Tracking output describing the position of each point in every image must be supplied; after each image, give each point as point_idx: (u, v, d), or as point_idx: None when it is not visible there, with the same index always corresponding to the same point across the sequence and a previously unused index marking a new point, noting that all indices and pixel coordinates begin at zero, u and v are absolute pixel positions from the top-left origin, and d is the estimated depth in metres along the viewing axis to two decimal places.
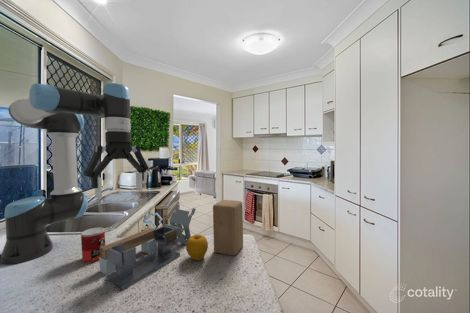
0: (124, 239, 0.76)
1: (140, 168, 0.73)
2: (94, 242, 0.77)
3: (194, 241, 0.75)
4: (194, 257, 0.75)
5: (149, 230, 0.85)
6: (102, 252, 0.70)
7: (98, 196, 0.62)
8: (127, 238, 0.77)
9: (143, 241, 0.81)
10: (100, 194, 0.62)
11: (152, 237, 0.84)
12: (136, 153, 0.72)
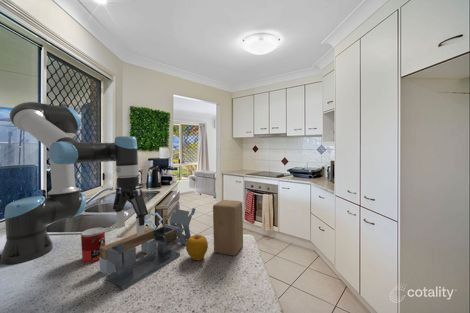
0: (124, 239, 0.76)
1: (136, 213, 0.73)
2: (94, 242, 0.77)
3: (194, 241, 0.75)
4: (194, 257, 0.75)
5: (149, 230, 0.85)
6: (102, 252, 0.70)
7: None
8: (127, 238, 0.77)
9: (143, 241, 0.81)
10: (117, 225, 0.80)
11: (152, 237, 0.84)
12: None
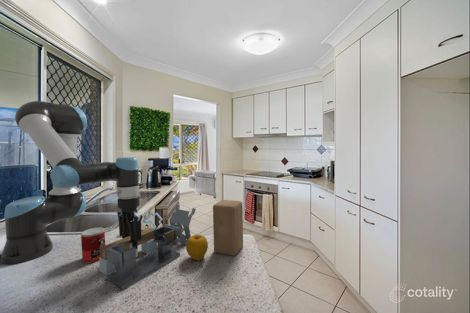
0: (124, 239, 0.76)
1: (131, 237, 0.76)
2: (94, 242, 0.77)
3: (194, 241, 0.75)
4: (194, 257, 0.75)
5: (149, 230, 0.85)
6: (102, 252, 0.70)
7: None
8: (127, 238, 0.77)
9: (143, 241, 0.81)
10: None
11: (152, 237, 0.84)
12: None
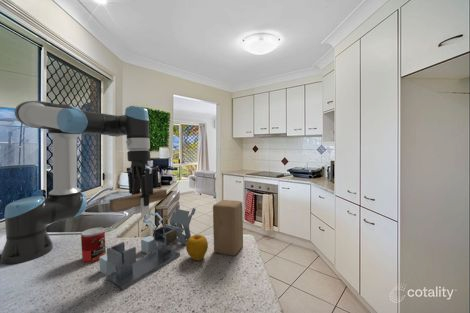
0: (135, 195, 0.71)
1: (142, 192, 0.71)
2: (94, 242, 0.77)
3: (194, 241, 0.75)
4: (194, 257, 0.75)
5: (160, 190, 0.80)
6: (112, 204, 0.65)
7: None
8: (137, 194, 0.72)
9: (154, 199, 0.76)
10: (134, 210, 0.73)
11: (163, 197, 0.80)
12: None
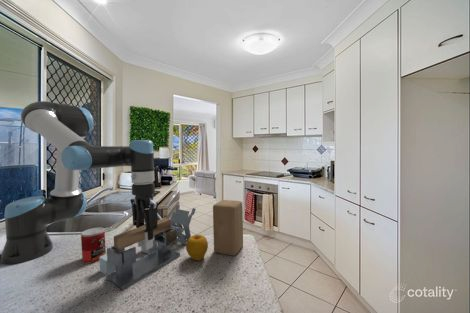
0: (139, 229, 0.71)
1: (146, 226, 0.70)
2: (94, 242, 0.77)
3: (194, 241, 0.75)
4: (194, 257, 0.75)
5: (164, 220, 0.79)
6: (116, 241, 0.64)
7: None
8: (141, 228, 0.72)
9: (158, 231, 0.75)
10: (138, 243, 0.73)
11: (167, 227, 0.79)
12: None
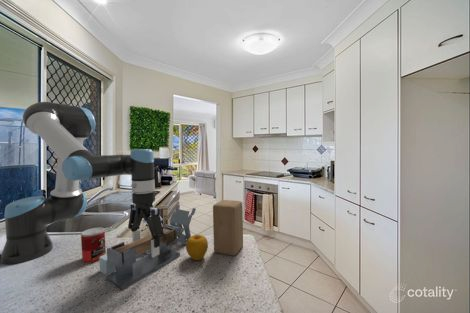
0: (139, 241, 0.71)
1: (151, 233, 0.69)
2: (94, 242, 0.77)
3: (194, 241, 0.75)
4: (194, 257, 0.75)
5: (164, 231, 0.80)
6: None
7: None
8: (142, 240, 0.72)
9: None
10: None
11: None
12: None
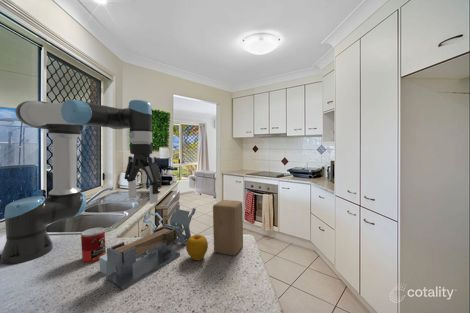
0: (139, 241, 0.71)
1: (150, 180, 0.70)
2: (94, 242, 0.77)
3: (194, 241, 0.75)
4: (194, 257, 0.75)
5: (164, 231, 0.80)
6: None
7: None
8: (142, 240, 0.72)
9: (159, 242, 0.76)
10: (129, 195, 0.77)
11: None
12: None
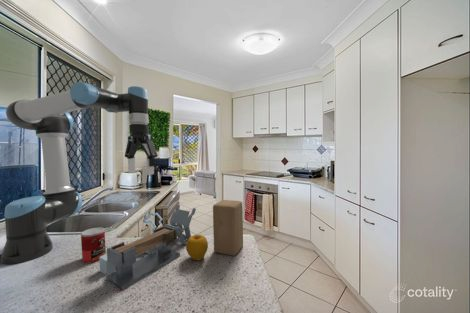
0: (139, 241, 0.71)
1: (147, 155, 0.81)
2: (94, 242, 0.77)
3: (194, 241, 0.75)
4: (194, 257, 0.75)
5: (164, 231, 0.80)
6: None
7: None
8: (142, 240, 0.72)
9: (159, 242, 0.76)
10: None
11: None
12: None
